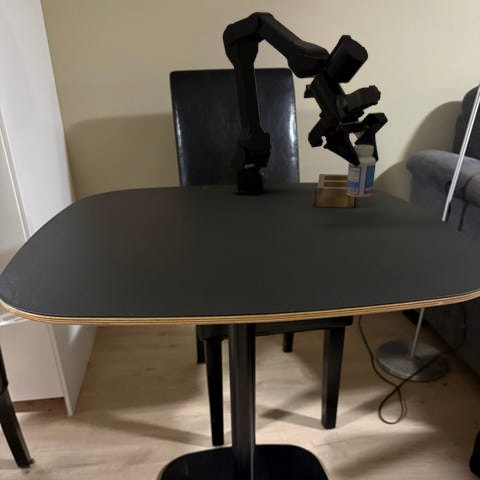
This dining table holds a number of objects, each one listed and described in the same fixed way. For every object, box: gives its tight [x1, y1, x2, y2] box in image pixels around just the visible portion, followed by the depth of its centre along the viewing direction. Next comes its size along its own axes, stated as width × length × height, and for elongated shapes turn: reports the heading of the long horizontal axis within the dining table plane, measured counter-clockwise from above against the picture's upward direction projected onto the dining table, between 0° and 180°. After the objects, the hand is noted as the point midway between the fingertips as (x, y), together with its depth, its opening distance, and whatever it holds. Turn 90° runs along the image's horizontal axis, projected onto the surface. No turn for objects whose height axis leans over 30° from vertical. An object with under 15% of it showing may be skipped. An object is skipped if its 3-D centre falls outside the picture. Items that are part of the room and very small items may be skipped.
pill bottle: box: [347, 144, 377, 198], centre depth 99 cm, size 6×5×10 cm
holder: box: [315, 173, 356, 209], centre depth 122 cm, size 9×16×4 cm, turn 170°
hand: (367, 163), depth 97 cm, fingers closed on pill bottle, 5 cm apart
